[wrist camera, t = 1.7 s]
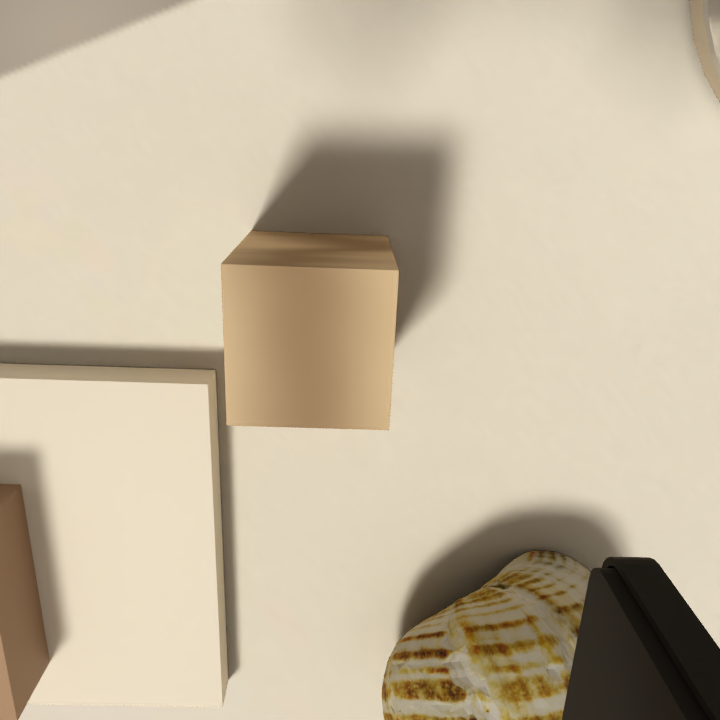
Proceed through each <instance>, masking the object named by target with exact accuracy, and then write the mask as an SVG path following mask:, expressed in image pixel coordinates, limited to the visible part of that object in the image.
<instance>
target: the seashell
mask: <svg viewBox="0 0 720 720" xmlns="http://www.w3.org/2000/svg"><path fill="white" fill-rule="evenodd" d="M590 573H591V572H590V571H589V570H588V569H587V568H586V567H584V566H583V565H581V564H580V563H578V562H577V561H575V560H574V559H572V558H570V557H567V556H565V555H562V554H560V553H556V552H553V551H530V552H526V553H524V554H522V555H521V556H519V557H517V558H516V559H514V560H513V561H511V562H510V563H509V564H508V565H507V566H505V567H504V568H503V569H502V570H501V571H500V573H499V574H498V575H497V576H496V577H494V578H493V579H491V580H490V581H488V582H487V583H486V584H484V585H483V586H482V587H481V588H480V589H479V590H477V591H475V592H473V593H470V594H469V595H467V596H466V597H463V598H460V599H457V600H456V601H455V602H454V604H452V605H450V606H448V607H447V608H445V609H444V610H442V611H440V612H438V613H437V614H435V615H433V616H431V617H429V618H427V619H425V620H424V621H422V622H421V623H419V624H418V625H417V626H415V627H414V628H412V629H411V630H409V631H408V632H407V633H406V634H405V635H404V636H403V637H402V638H401V639H400V640H399V641H398V643H397V644H396V646H395V648H394V650H393V652H392V653H391V655H390V657H389V660H388V663H387V667H386V671H385V674H384V680H383V686H382V704H383V714H384V719H385V720H562V715H563V710H564V705H565V700H566V695H567V689H568V684H569V679H570V674H571V669H572V664H573V658H574V653H575V648H576V643H577V638H578V632H579V627H580V622H581V617H582V612H583V607H584V601H585V596H586V591H587V586H588V581H589V576H590Z"/></svg>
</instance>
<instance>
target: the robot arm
mask: <svg viewBox="0 0 720 720" xmlns="http://www.w3.org/2000/svg"><path fill="white" fill-rule="evenodd" d="M689 3H690V12H691V21H692V31H693V40H694V43H695V46H696V49H697V53H698V56H699V59H700V62H701V66H702V69H703V72H704V75H705V77H706V79H707V80H708V82H709V84H710V86H711V88H712V89H713V91H714V93H715V95H716V97H717V98H718V100H719V102H720V0H689ZM562 720H720V648H719V647H718V646H717V644H716V643H715V642H714V640H713V639H712V637H711V636H710V635H709V633H708V632H707V630H706V629H705V628H704V626H703V625H702V623H701V622H700V621H699V619H698V618H697V617H696V615H695V614H694V612H693V611H692V610H691V608H690V607H689V605H688V604H687V603H686V601H685V600H684V598H683V597H682V596H681V594H680V593H679V592H678V590H677V589H676V587H675V586H674V585H673V583H672V582H671V580H670V579H669V578H668V576H667V575H666V573H665V572H664V571H663V569H662V568H661V566H660V565H659V564H658V563H657V562H656V561H655V560H654V559H652V558H642V557H609V558H606V560H605V561H604V563H603V565H602V568H594V569H593V570H592V571H591V573H590V576H589V581H588V586H587V591H586V596H585V601H584V607H583V612H582V617H581V622H580V627H579V632H578V638H577V643H576V648H575V653H574V658H573V664H572V669H571V674H570V679H569V684H568V689H567V695H566V700H565V705H564V710H563V715H562Z"/></svg>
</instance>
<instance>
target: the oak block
mask: <svg viewBox="0 0 720 720" xmlns="http://www.w3.org/2000/svg"><path fill="white" fill-rule="evenodd" d="M221 279H222V308H223V337H224V366H225V395H226V424H227V425H232V426H266V427H300V428H334V429H368V430H389V425H390V409H391V393H392V376H393V360H394V344H395V327H396V311H397V295H398V279H399V269H398V266H397V263H396V260H395V257H394V254H393V251H392V248H391V245H390V242H389V239H388V236H377V235H350V234H323V233H296V232H270V231H251V232H250V233H249V234H248V235H247V236H246V237H245V238H244V239H243V241H242V242H241V243H240V244H239V245H238V246H237V247H236V248H235V249H234V250H233V251H232V253H231V254H230V255H229V256H228V257H227V258H226V259H225V260H224V261H223V262H222V264H221Z"/></svg>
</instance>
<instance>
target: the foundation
mask: <svg viewBox="0 0 720 720" xmlns="http://www.w3.org/2000/svg"><path fill="white" fill-rule="evenodd" d="M227 684H228V661H227V637H226V612H225V588H224V563H223V539H222V514H221V490H220V465H219V441H218V416H217V392H216V370H201V369H168V368H136V367H103V366H71V365H38V364H5V363H0V720H18V719H19V717H20V715H21V713H22V711H23V710H24V708H25V706H26V704H52V705H114V706H176V707H223V703H224V698H225V694H226V689H227Z"/></svg>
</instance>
